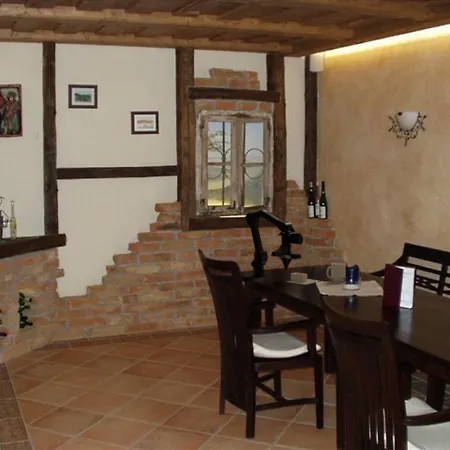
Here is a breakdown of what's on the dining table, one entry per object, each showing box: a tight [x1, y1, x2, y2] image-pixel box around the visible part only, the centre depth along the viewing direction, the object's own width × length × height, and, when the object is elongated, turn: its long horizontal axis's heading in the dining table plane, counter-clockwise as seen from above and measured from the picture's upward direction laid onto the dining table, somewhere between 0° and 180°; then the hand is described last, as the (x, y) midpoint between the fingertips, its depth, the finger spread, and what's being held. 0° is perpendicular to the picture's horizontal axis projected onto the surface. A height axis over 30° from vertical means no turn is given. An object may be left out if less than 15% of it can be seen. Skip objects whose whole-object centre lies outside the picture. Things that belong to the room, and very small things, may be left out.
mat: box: [286, 278, 319, 286], centre depth 416 cm, size 14×14×1 cm
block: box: [290, 272, 308, 282], centre depth 418 cm, size 4×4×9 cm
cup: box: [326, 262, 346, 283], centre depth 417 cm, size 8×12×10 cm
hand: (286, 269), depth 424 cm, fingers closed
